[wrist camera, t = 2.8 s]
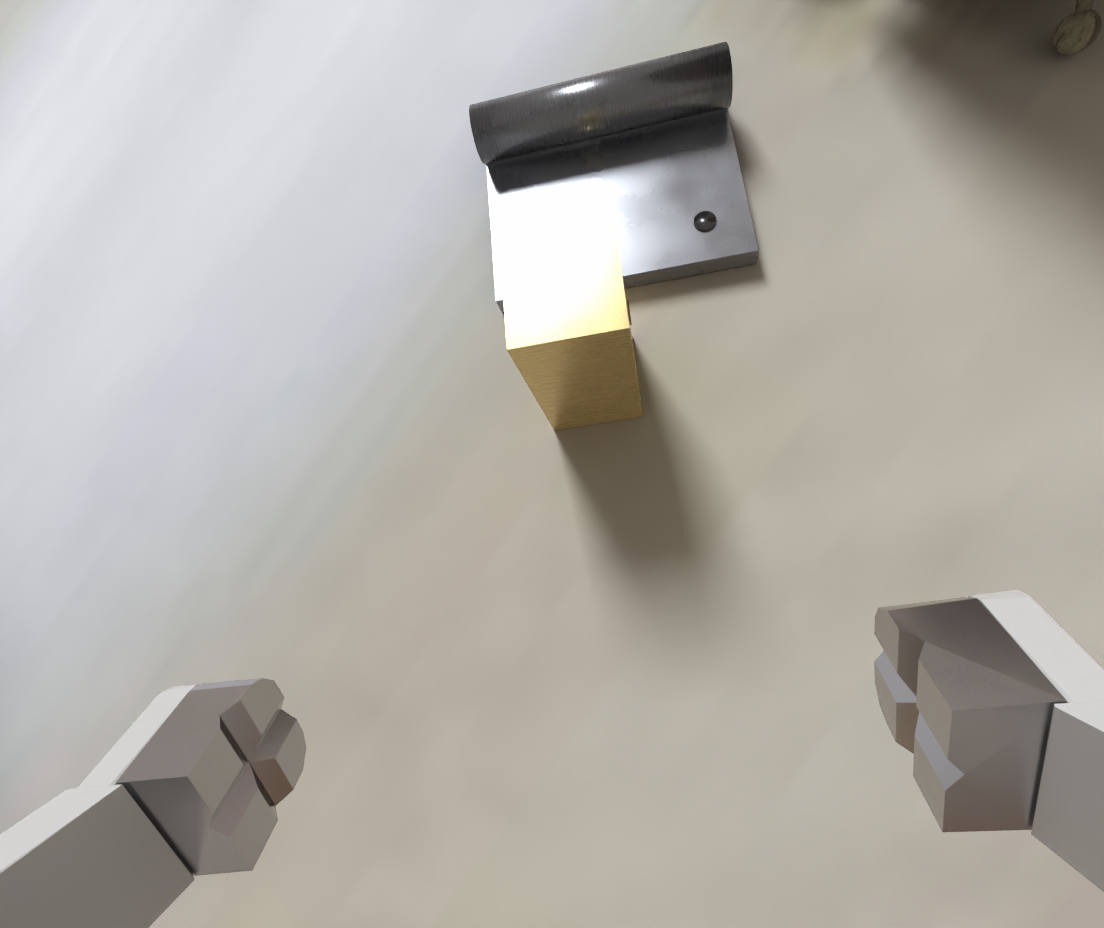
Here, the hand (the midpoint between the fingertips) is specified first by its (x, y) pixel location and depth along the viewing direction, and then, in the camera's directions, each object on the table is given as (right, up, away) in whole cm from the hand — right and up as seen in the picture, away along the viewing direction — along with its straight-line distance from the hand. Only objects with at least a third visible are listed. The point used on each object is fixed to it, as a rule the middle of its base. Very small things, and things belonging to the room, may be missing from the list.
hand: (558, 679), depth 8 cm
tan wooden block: (+2, +7, +19) cm, 20 cm away
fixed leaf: (+3, +16, +22) cm, 27 cm away
